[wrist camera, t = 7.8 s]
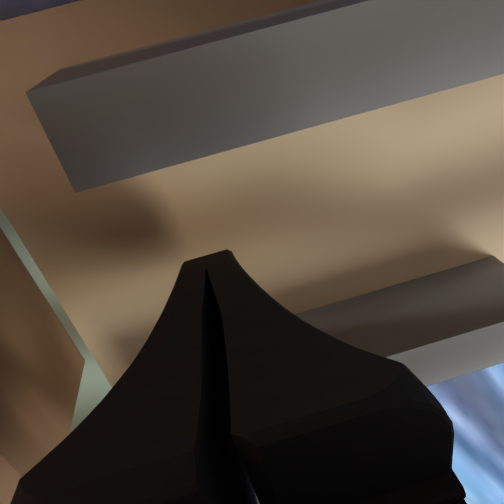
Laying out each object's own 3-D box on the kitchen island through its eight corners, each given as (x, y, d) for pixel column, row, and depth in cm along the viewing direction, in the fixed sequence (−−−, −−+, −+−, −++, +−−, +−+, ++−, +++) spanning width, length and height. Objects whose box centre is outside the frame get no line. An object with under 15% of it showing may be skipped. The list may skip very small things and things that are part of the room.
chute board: (505, 283, 19) (593, 356, 15) (-24, 441, 18) (-74, 562, 14) (567, -125, 11) (777, -189, 7) (-351, 115, 10) (-658, 184, 6)
